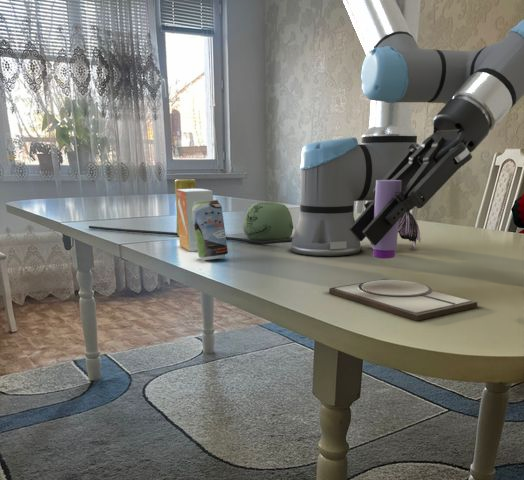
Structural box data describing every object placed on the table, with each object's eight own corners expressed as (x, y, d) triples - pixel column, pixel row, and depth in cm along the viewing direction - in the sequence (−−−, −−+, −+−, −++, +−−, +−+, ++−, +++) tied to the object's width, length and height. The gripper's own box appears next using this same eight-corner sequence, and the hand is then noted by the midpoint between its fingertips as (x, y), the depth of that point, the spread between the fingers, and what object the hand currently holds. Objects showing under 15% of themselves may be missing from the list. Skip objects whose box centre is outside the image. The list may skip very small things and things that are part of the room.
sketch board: (328, 293, 84) (329, 286, 84) (391, 282, 91) (392, 275, 90) (417, 321, 70) (417, 312, 69) (484, 305, 77) (485, 298, 76)
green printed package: (216, 263, 107) (214, 201, 103) (187, 260, 111) (184, 199, 107) (234, 258, 112) (233, 198, 108) (206, 255, 116) (203, 197, 112)
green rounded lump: (303, 239, 137) (304, 203, 135) (260, 243, 131) (259, 206, 128) (269, 232, 150) (269, 199, 147) (228, 235, 144) (227, 202, 141)
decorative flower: (437, 210, 113) (368, 189, 115) (417, 264, 116) (350, 242, 118) (429, 212, 127) (368, 194, 129) (412, 260, 130) (352, 241, 132)
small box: (179, 246, 128) (176, 189, 124) (205, 244, 130) (202, 188, 126) (188, 251, 121) (185, 191, 117) (215, 249, 123) (213, 190, 119)
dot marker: (366, 256, 82) (370, 180, 79) (383, 253, 84) (388, 179, 80) (383, 259, 79) (389, 181, 76) (401, 256, 81) (407, 180, 78)
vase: (180, 233, 148) (176, 179, 144) (201, 234, 148) (199, 179, 143) (173, 237, 143) (170, 180, 138) (196, 237, 142) (193, 180, 137)
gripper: (524, 133, 73) (407, 263, 74) (448, 137, 88) (351, 245, 89) (497, 88, 70) (374, 225, 71) (423, 100, 85) (322, 213, 85)
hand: (362, 236), depth 80 cm, fingers closed on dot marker, 4 cm apart
